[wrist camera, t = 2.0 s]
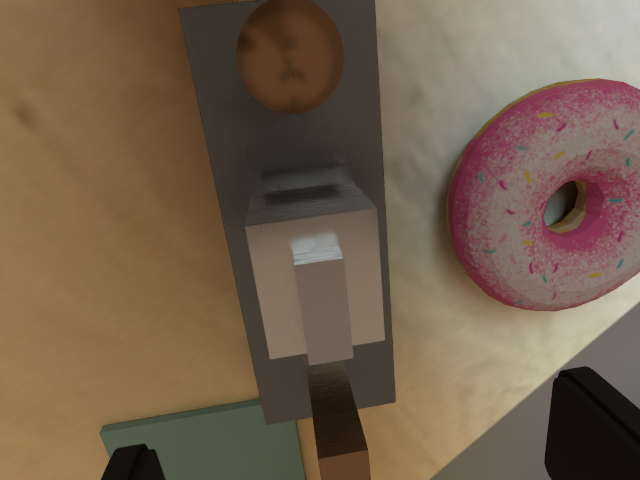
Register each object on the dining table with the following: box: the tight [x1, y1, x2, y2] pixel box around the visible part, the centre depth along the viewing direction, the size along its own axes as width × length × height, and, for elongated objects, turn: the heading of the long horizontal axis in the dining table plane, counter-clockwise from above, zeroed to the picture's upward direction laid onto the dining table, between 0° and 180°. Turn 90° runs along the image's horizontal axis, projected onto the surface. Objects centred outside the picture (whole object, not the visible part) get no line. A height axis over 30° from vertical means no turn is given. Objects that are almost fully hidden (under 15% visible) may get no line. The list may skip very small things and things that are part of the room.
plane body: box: [178, 0, 396, 480], centre depth 19 cm, size 22×8×10 cm, turn 6°
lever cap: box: [245, 183, 385, 366], centre depth 17 cm, size 6×5×6 cm
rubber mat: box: [100, 399, 306, 480], centre depth 30 cm, size 13×13×1 cm
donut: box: [446, 79, 640, 311], centre depth 23 cm, size 14×13×5 cm
